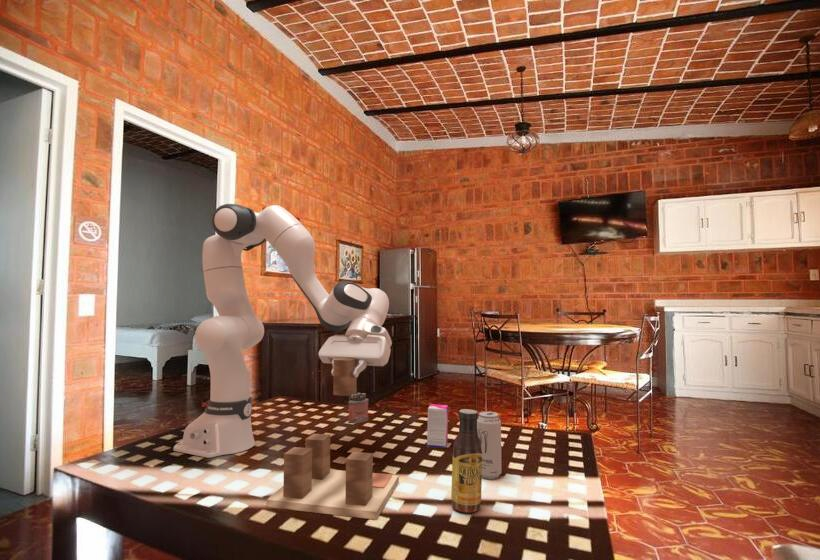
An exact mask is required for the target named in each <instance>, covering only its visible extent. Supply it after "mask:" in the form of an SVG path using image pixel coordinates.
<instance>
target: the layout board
mask: <svg viewBox="0 0 820 560" xmlns="http://www.w3.org/2000/svg"><path fill="white" fill-rule="evenodd" d="M304 439H305V442H304V444H305V447H300V446H299V447H298V446H297V447H296V446H292V448H290V449H288V451H286V452H284V453H283V486H281V487H280V488H279V489H278V490H276V491H275V492H274V493H273V494H272V495H270V496H269V497H268V498H267V499H266V508H275V509H283V510H290V511H291V510H292V511H299V512H307V513H317V514H325V515H334V516H341V517H342V516H343V517H348V518H349V517H350V518H359V519H368V520H378V518H379V516H380V515H381V513H382V511H383V510H384V507H385V506H386V505H387V503H388V501H389V499H390V498H391V496H392V494H393V492H394V491H395V489H396V487H397V486H398V484H399V481H400V480H399V479H400V478H399V477H400V476H399V475H393V474H389V473H388V474H387V473H375V472H373V466H374V465H373V463H374V461H373V460H374V453H372V452H360V451H353V452H351V454H349V455H348V456H347V458H345V470H340V469H331V434H324V433H312V434H311V435H309V436H307V438H304Z"/></svg>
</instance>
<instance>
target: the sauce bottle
mask: <svg viewBox="0 0 820 560" xmlns="http://www.w3.org/2000/svg"><path fill="white" fill-rule="evenodd" d="M478 417H479V412H478V411H477V410H475V409H469V408H465V409H464V408H461V409H460V410H459V411H458V418H459V424H458V425H459V429H458V434H457V435H456V436H455V439H454V442H453V449H452V450H453V451H452V452H453V453H452V463H451V464H452V466H451V469H452V470H451V494H450V496H451V497H450V498H451V506H452V508H453V509H454V510H455V511H457V512H459V513H465V514H471V513H474V512H477V511H479V510H480V508H481V502H482V481H483V478H482V448H481V441H480V439H479V437H478V434H477V419H478Z"/></svg>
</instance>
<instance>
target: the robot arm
mask: <svg viewBox="0 0 820 560" xmlns="http://www.w3.org/2000/svg"><path fill="white" fill-rule="evenodd" d="M211 226H212V228H213V230H214V232H215V233H216V234H214V235H210V236H209V237H207V238H205V240H204V242H203V245H202V270H203V278H204V285H205V286H204V287H205V294H206V298H207V299H208V301H209V302H210V303H211V304H212V305H213V306H214V308H215V309H216V313H217V314H218V315H216V316H213V317H210V318H207V319H205V320H203V321H201V323H200V324H198V326H197V327H196V330H195V333H194V340H195V344H196V345H197V348H198V349H199V350H201V351H202V353H204V355H205V358H206V361H207V363H208V368H209V374H210V375H209V376H210V398H209V399H208V400H206V401H205V402H202V403H201V407H203V408H204V407H205V409H204V412H203V413H202V414H201V415H199V416H198V417H197V418H195V419H194V420H193V421H192V422H190V423H189V424H188V425H186V427H185V429H184V432H183V437H182V440H181V441H179V442H178V443H176V444H175V445H174V446H173V449H172V450H173V451H174V452H178V453H183V454H189V455H193V456H199V457H202V458H203V457H204V458H207V459H208V458H215V457H219V456H223V455H224V456H225V455H232V454H238V453H241V452H244V451H247V450H249V449H251V448H253V447H254V446H255V445H256V441H255V438H254V434H253V428H252V418H251V417H252V409H253V408H252V407H253V398H252V396H251V389H252V388H251V387H252V386H251V384H252V383H251V381H252V373H251V370H250V368H249V367H248V366H247V365H246V362H245V359H244V358H245V357H244V354H243V353H244V352H243V350H249V349H251V348H253V347H255V346H256V345H258V344H259V343H260V342H261V341H262V340H263V337H264V335H265V327H264V324H263V321H261V320H260V319H259V317H258V316H257V315H256V313H255V311H254V308H253V306H252V303H251V301H250V298H249V296H248V293H247V287H246V282H245V276H244V269H243V268H244V267H243V261H242V253H243V251H245V252H249V251H250V250H253V249H254V248H256V247H259V246H261V245H264V244H265V243H266V242H268V243H269V245H270V246H271V247H272V248H273V249H274V251H276V252H277V254H278V255H279V257H280V258H281V259H282V261H283V263H284V264H285V266H286V267H287V269H288V271H289V273H290V276H291V277H292V279H293V281H294V282H295V284H296V285H297V286H298V288H299V290H300V292H301V293H303V295H304V296H305V298H306V299H307V300H308V303H310V305H311V306H312V307H313V309H314V311H315V314H316V317H317V319H318V321H319V323H320V325H321V326H322V327H324V329H326V330H327V331H330V332H342V331H344V330H346V331H345V333H343V334H337V333H336V334H334V335H331V336H330V337H328V338H327V339H326V341H325V342H324V343H323V344H322V346H321V348H320V349H319V351H318V353H317V354H318V357H319V359H320V360H321V362H322V363H323V364H332V365H333V360H335V359H339V358H352V359H357V367H356V368H352V371H351V373H350V375H351V376H352V377H355V378H358V377H359V375H360V373H362V372H363V371H364V370H365V369H366V368H367V366H369V367H370V366H372V367H384V366H385V365H387V364H388V362H389V359H390V356H391V347H392V344H393V341H392V338H391V336H390V334H389V331H388V330H387V329H386V328H385V327H383V325H384V323H385V321H386V318H387V316H388V312H389V309H390V308H389V307H390V300H389V297H388V295H387V293H386V292H385V291H384V290H382V289H380V288H377V287H372V288H371V287H370V288H366V287H363V286H360V285H359V284H357V283H356V282H353V281H350V280H341V281H339V282H337V283H336V284H335V285H334V287H333V288H332V289H331V292H330V293H329V292H328V291H327V290H326V289H325V287H324V286H323V284H322V283H321V282H320V281H319V278H318V277H317V275H316V272H315V253H316V243H315V239H314V238H313V236H312V235H311V232H309V230H308V229H307V228H306V227H305V226H304V225H303V223H301V222H300V220H299V219H297V217H295V216H294V215H293V214H292V213H290V212H289V211H288V210H286V209H285V208H284V207H282V206H281V205H278V204H272V205H269V206H267V207H264V209H262V210H261V211H259V212H257V211H254V209H252V208H250V207H246V206H243V205H240V204H236V203H235V204H234V203H225V204H221V205H220V206H218V207H217V208H215V210H214V211H213V214H212V215H211ZM330 374H331V376H333V368H332V369H331V372H330Z"/></svg>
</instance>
